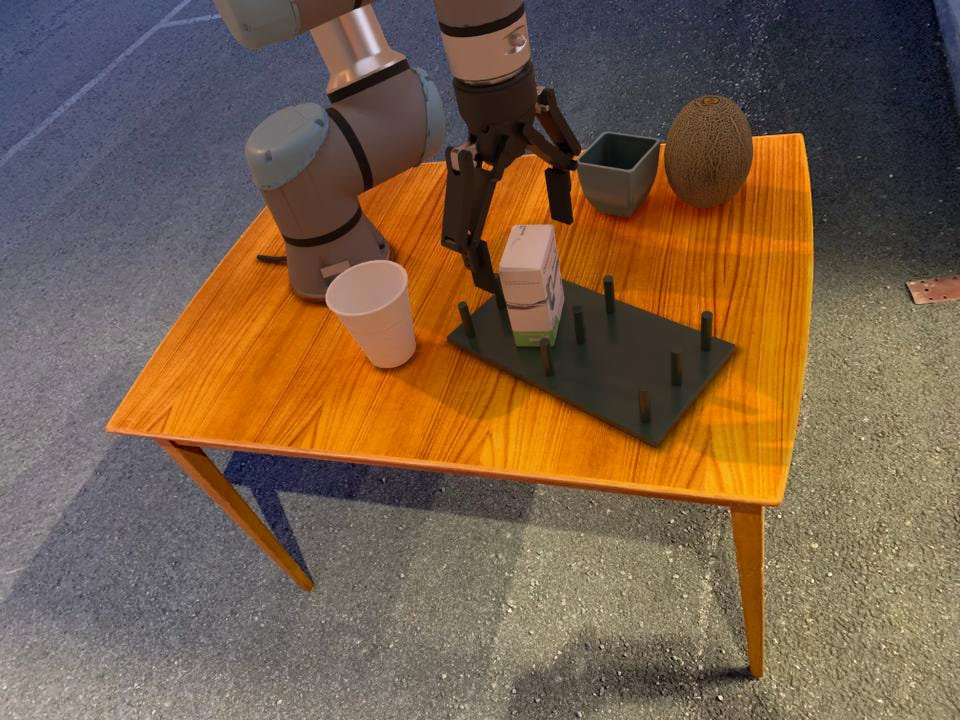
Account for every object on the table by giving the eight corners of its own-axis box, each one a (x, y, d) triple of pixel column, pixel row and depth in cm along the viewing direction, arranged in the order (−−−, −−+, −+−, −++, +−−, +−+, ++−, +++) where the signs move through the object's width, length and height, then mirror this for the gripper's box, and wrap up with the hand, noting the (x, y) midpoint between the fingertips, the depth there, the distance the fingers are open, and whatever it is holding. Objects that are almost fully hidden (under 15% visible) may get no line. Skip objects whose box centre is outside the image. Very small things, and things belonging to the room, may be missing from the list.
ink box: (555, 348, 81) (541, 269, 73) (514, 347, 83) (496, 270, 75) (565, 299, 87) (554, 221, 79) (527, 299, 88) (512, 222, 80)
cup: (342, 354, 90) (311, 289, 82) (405, 315, 93) (381, 249, 85) (379, 394, 83) (349, 328, 76) (446, 350, 86) (423, 282, 79)
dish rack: (447, 342, 87) (436, 307, 83) (527, 270, 94) (520, 234, 90) (656, 448, 70) (655, 410, 66) (735, 350, 77) (738, 310, 73)
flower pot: (608, 184, 105) (604, 129, 98) (663, 194, 100) (662, 137, 94) (579, 217, 100) (572, 161, 94) (635, 229, 96) (632, 172, 89)
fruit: (751, 223, 92) (760, 117, 81) (663, 226, 95) (661, 125, 84) (747, 175, 99) (755, 73, 89) (666, 180, 102) (664, 82, 92)
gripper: (425, 143, 55) (477, 332, 70) (605, 14, 66) (617, 202, 81) (365, 125, 60) (426, 307, 75) (543, 7, 70) (565, 187, 85)
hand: (525, 253), depth 78 cm, fingers open, 13 cm apart
